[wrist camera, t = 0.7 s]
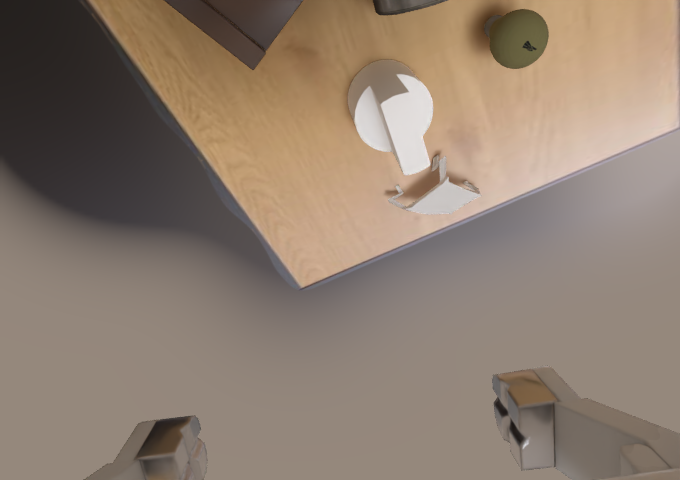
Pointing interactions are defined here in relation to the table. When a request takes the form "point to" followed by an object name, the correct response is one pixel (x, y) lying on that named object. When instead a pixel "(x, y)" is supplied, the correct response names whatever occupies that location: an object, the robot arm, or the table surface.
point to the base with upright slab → (392, 112)
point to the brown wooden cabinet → (239, 23)
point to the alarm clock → (401, 6)
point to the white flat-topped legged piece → (440, 194)
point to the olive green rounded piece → (517, 37)
